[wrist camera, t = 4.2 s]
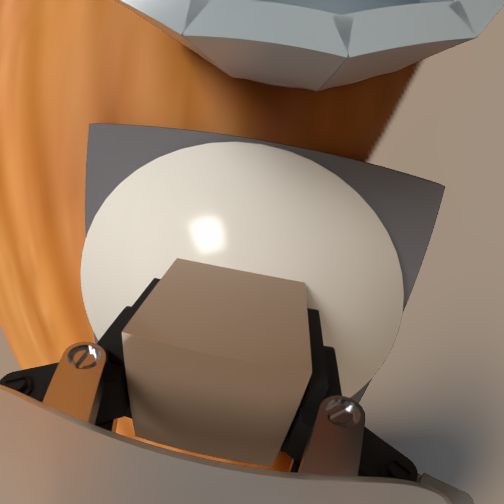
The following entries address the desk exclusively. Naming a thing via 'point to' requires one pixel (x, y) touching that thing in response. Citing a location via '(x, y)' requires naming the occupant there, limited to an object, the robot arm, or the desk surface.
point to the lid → (238, 292)
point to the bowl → (316, 35)
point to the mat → (349, 170)
